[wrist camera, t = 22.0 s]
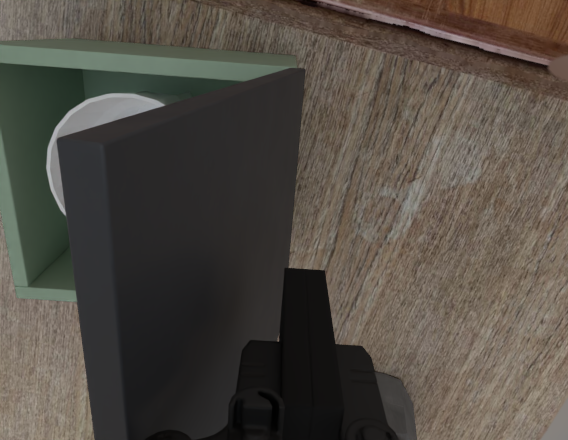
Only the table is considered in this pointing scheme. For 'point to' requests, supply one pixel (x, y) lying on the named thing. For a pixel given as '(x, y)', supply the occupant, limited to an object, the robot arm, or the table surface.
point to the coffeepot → (397, 406)
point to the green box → (51, 110)
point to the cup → (99, 123)
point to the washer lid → (180, 250)
